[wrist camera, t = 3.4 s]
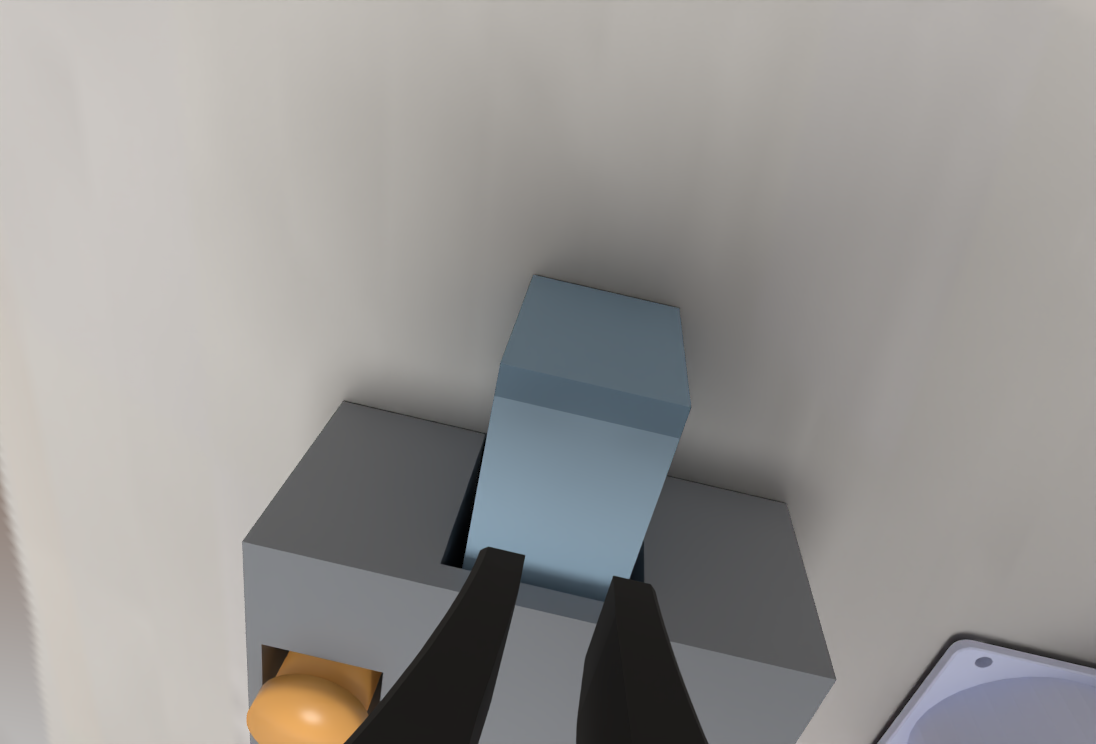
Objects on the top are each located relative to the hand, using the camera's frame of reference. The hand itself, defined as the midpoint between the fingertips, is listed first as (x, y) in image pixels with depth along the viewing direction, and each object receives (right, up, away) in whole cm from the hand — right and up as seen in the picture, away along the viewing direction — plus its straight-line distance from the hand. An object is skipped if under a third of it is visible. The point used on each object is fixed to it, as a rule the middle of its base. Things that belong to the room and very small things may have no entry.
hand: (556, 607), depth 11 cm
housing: (0, -2, +12) cm, 13 cm away
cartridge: (0, 0, +11) cm, 11 cm away
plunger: (-6, -3, +10) cm, 12 cm away
